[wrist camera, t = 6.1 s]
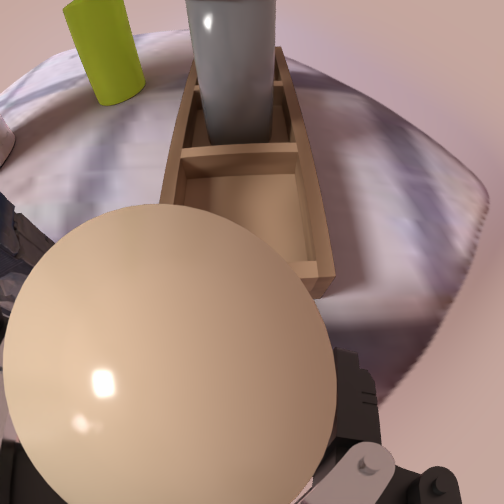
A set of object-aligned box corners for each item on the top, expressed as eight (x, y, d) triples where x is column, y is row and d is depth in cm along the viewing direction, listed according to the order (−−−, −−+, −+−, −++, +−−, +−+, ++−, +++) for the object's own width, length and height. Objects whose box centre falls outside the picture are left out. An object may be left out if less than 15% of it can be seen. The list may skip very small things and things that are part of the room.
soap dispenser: (93, 92, 27) (47, -38, 9) (145, 72, 27) (111, -66, 9) (88, 116, 24) (29, -35, 6) (146, 93, 25) (105, -71, 7)
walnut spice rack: (170, 304, 16) (148, 283, 12) (200, 78, 26) (195, 51, 22) (320, 298, 15) (335, 276, 12) (279, 74, 26) (281, 46, 22)
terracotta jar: (183, 421, 13) (14, 487, 2) (183, 335, 15) (30, 218, 4) (276, 421, 13) (335, 545, 2) (272, 333, 15) (314, 196, 4)
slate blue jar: (204, 158, 18) (171, -17, 7) (208, 115, 20) (187, -28, 9) (276, 154, 18) (284, -25, 7) (270, 112, 20) (273, -33, 9)
